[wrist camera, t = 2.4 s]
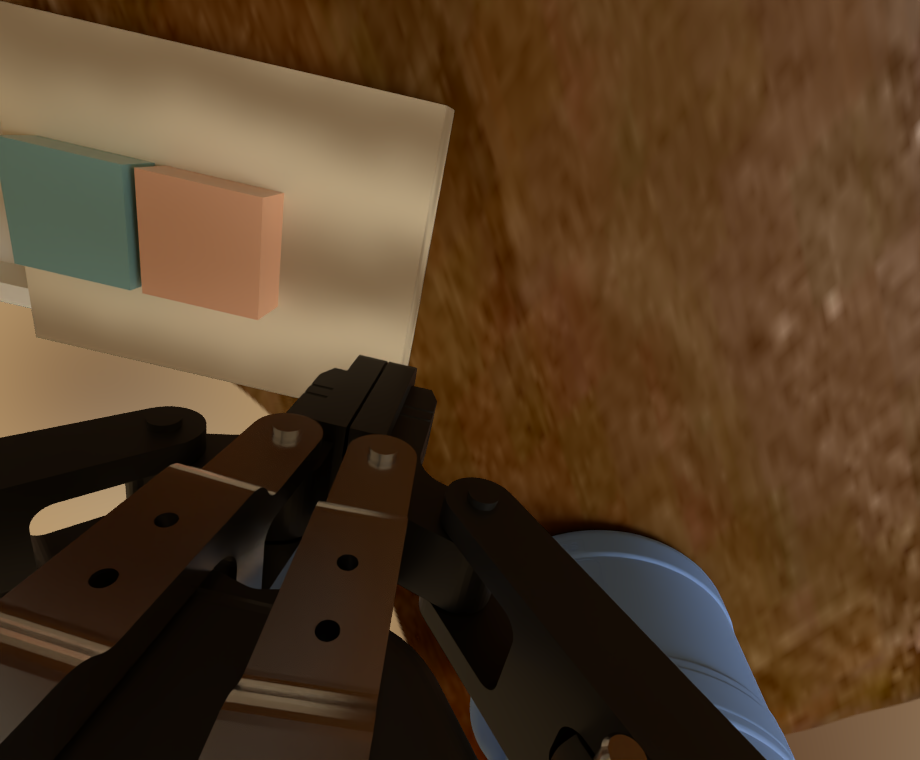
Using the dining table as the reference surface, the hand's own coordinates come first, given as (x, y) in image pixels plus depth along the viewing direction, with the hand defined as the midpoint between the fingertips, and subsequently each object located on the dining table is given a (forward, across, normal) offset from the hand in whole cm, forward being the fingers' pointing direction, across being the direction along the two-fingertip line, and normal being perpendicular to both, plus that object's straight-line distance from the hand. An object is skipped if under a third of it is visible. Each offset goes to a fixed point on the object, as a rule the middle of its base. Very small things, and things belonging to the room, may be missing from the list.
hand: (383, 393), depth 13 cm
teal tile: (+10, +15, 0) cm, 18 cm away
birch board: (+13, +10, 0) cm, 16 cm away
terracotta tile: (+10, +10, 0) cm, 14 cm away
